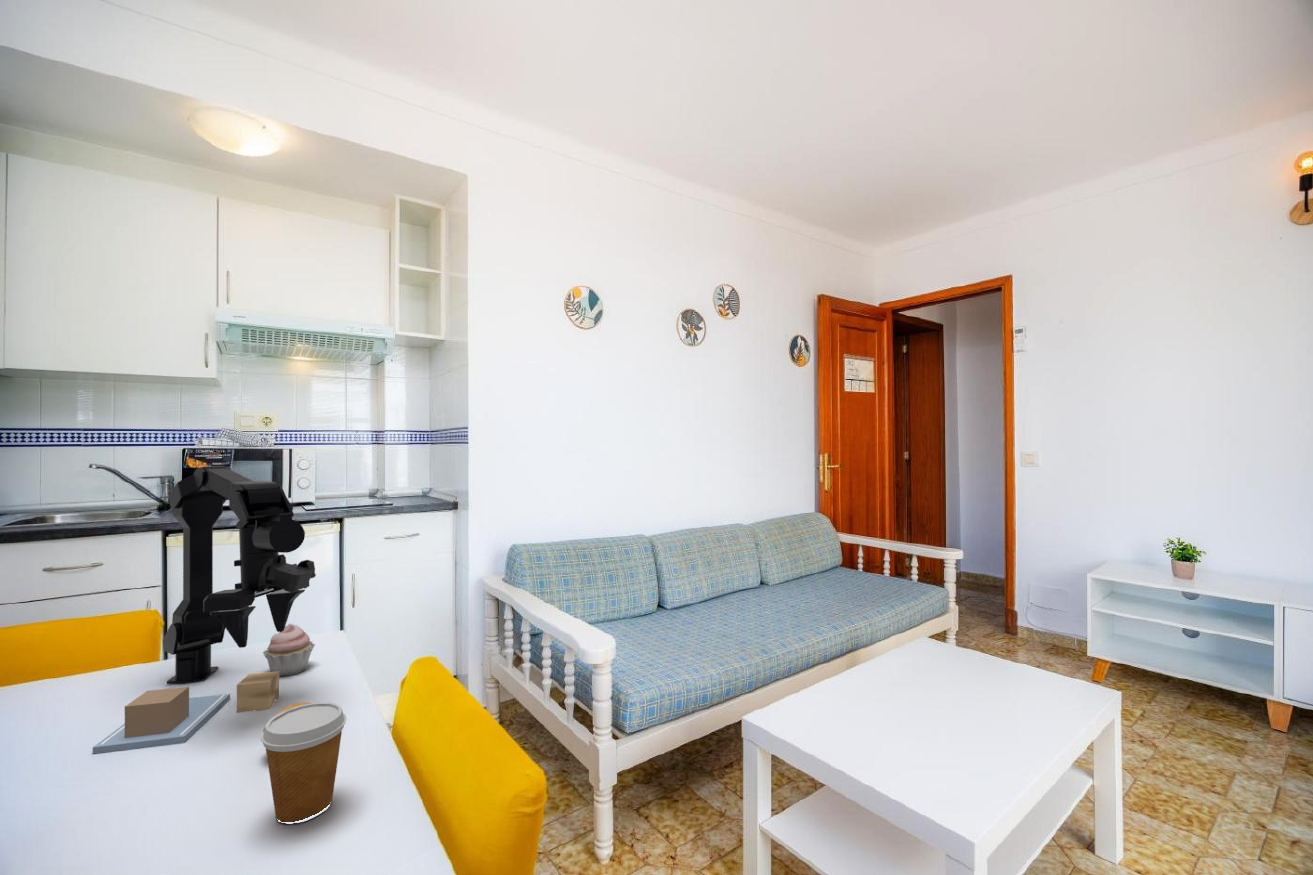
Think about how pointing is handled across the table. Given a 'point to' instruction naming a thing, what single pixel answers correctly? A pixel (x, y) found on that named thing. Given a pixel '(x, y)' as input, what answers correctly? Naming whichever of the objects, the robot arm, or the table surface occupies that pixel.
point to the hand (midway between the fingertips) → (262, 639)
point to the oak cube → (257, 691)
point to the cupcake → (289, 651)
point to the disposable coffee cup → (303, 758)
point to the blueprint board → (169, 737)
